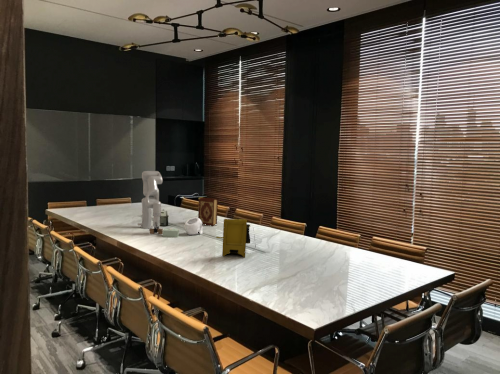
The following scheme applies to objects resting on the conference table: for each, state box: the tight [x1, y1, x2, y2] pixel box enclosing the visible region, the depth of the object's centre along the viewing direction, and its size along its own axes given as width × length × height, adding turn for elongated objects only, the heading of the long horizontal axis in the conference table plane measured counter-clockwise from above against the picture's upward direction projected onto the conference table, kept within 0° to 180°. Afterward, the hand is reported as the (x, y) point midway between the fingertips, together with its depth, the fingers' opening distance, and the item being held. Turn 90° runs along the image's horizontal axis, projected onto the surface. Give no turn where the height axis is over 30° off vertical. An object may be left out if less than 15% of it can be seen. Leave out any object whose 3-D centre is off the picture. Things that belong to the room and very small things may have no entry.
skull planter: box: [183, 216, 204, 236], centre depth 382 cm, size 14×20×19 cm
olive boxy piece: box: [216, 218, 256, 258], centre depth 307 cm, size 31×14×30 cm, turn 92°
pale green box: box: [162, 227, 180, 238], centre depth 369 cm, size 14×10×7 cm
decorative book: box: [197, 197, 219, 226], centre depth 437 cm, size 22×8×30 cm, turn 62°
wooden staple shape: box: [148, 227, 164, 235], centre depth 374 cm, size 12×5×5 cm, turn 95°
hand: (156, 232), depth 376 cm, fingers open, 9 cm apart
